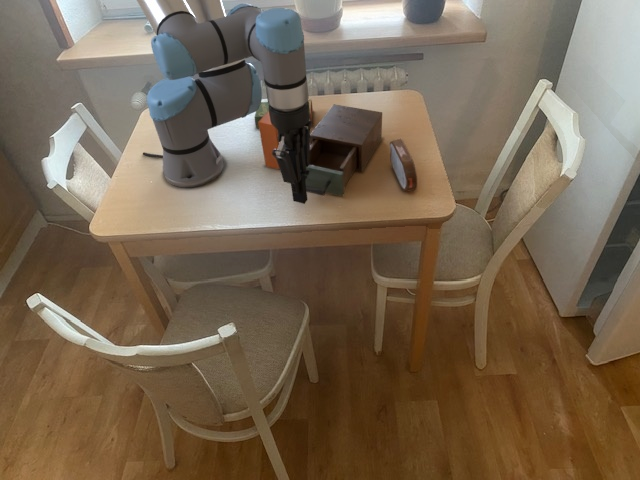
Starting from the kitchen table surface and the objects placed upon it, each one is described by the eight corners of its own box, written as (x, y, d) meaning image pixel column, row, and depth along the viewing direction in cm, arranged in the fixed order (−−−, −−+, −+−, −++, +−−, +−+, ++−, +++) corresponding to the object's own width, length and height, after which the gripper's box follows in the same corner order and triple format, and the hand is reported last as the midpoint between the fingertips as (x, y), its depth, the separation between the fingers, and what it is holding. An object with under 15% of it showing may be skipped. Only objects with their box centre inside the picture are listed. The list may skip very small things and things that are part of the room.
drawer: (334, 209, 107) (333, 187, 103) (286, 197, 111) (283, 176, 107) (363, 161, 119) (363, 140, 115) (318, 152, 123) (317, 131, 119)
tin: (417, 197, 110) (420, 167, 104) (403, 199, 110) (406, 169, 104) (398, 159, 120) (400, 131, 114) (386, 161, 120) (388, 133, 114)
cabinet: (361, 172, 118) (361, 145, 112) (311, 161, 122) (309, 135, 116) (381, 139, 128) (382, 112, 122) (334, 130, 132) (333, 104, 126)
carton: (311, 127, 134) (310, 113, 131) (255, 129, 135) (253, 116, 132) (312, 111, 140) (311, 98, 137) (259, 114, 141) (256, 101, 138)
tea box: (281, 169, 121) (274, 125, 111) (265, 166, 122) (257, 122, 113) (291, 156, 124) (285, 112, 115) (276, 153, 126) (269, 109, 117)
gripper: (285, 82, 92) (297, 179, 109) (253, 116, 84) (271, 215, 100) (321, 88, 89) (327, 186, 106) (291, 123, 81) (303, 223, 98)
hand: (300, 200), depth 103 cm, fingers closed
